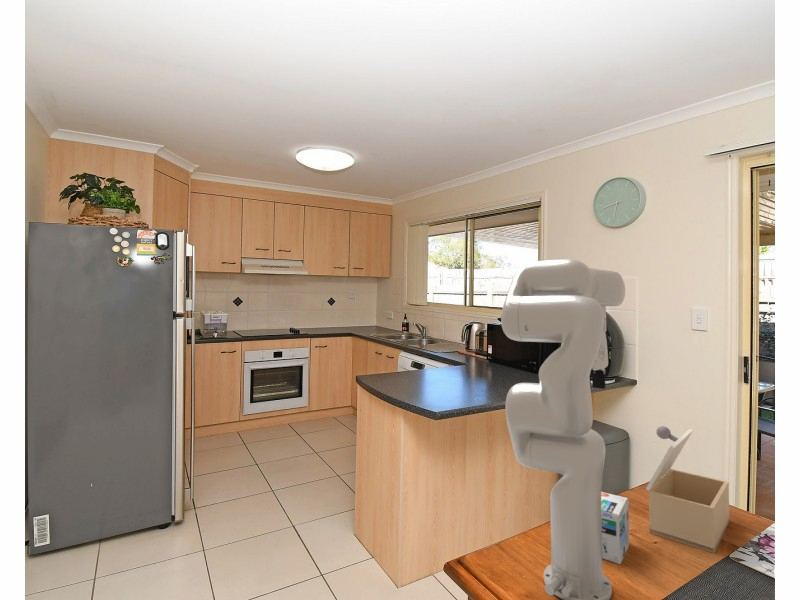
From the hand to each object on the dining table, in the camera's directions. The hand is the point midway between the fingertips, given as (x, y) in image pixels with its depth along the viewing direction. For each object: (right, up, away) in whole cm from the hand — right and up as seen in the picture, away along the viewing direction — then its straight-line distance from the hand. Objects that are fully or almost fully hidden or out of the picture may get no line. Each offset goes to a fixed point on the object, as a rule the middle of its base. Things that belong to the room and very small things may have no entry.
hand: (591, 390), depth 114 cm
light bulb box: (-2, -33, -15) cm, 37 cm away
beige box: (+22, -33, -5) cm, 40 cm away
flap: (+20, -17, -2) cm, 26 cm away
